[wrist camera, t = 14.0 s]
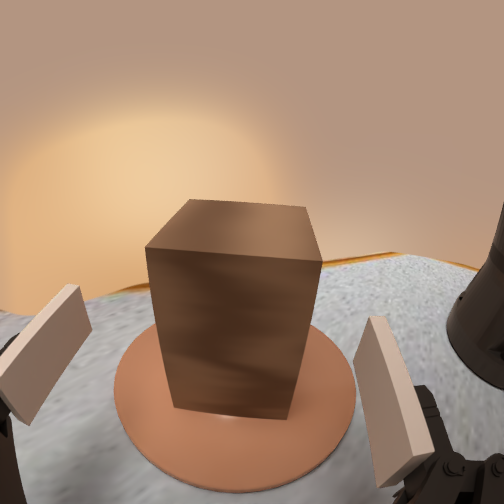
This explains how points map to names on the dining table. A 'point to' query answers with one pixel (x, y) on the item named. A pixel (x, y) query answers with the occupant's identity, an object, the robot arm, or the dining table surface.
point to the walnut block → (234, 304)
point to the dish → (235, 422)
